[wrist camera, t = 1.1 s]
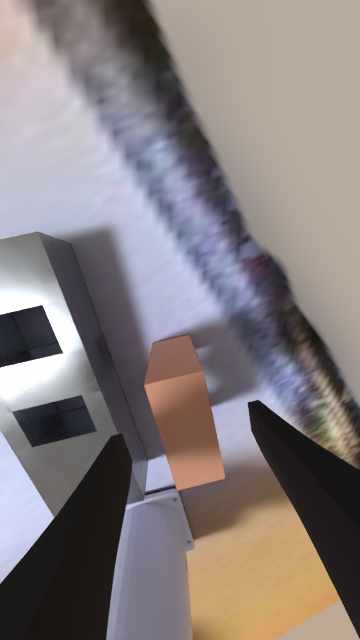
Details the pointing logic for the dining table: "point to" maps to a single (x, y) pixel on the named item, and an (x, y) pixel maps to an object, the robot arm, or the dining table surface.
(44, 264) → the gray rectangular frame
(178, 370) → the orange u-shaped block
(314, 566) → the dining table surface
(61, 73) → the dining table surface
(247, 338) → the dining table surface
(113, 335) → the dining table surface
